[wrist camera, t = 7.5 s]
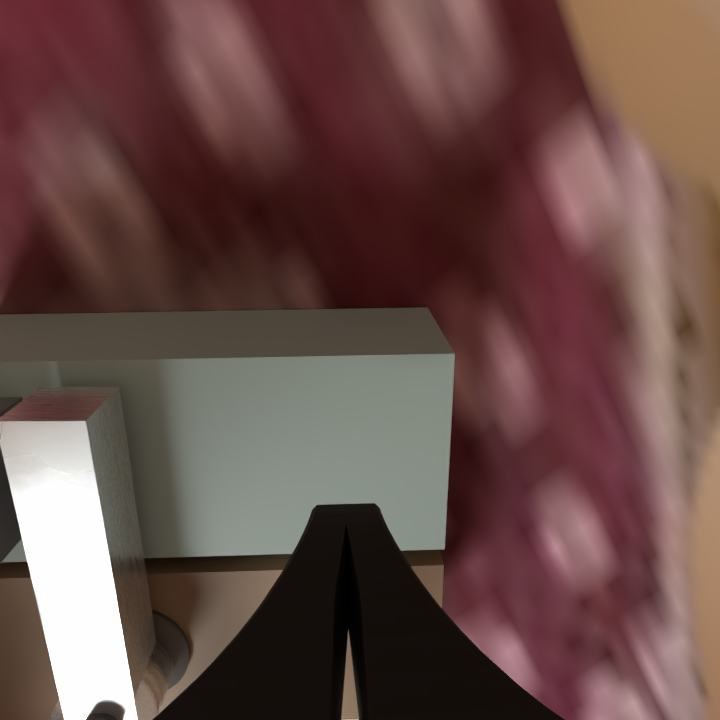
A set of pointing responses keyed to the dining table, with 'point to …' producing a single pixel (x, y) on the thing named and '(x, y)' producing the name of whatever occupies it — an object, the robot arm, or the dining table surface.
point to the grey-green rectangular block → (254, 418)
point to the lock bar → (85, 551)
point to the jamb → (163, 622)
